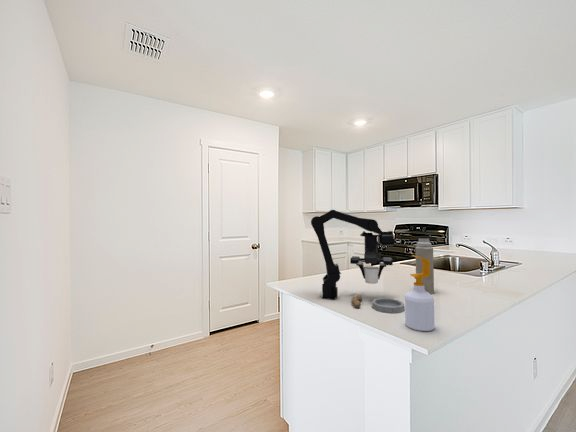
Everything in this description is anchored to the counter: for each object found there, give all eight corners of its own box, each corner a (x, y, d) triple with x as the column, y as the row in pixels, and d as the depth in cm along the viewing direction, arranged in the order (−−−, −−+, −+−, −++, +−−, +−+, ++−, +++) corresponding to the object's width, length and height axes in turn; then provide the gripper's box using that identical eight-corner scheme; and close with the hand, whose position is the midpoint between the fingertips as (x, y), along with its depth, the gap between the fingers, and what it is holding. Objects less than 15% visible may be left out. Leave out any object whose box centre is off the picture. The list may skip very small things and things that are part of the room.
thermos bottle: (417, 289, 141) (416, 235, 141) (434, 291, 137) (433, 235, 137) (415, 293, 134) (414, 236, 134) (433, 295, 130) (432, 236, 130)
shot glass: (380, 284, 124) (379, 268, 124) (364, 283, 125) (364, 268, 125) (378, 280, 130) (378, 266, 130) (363, 280, 132) (363, 265, 132)
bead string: (360, 309, 112) (360, 301, 112) (350, 308, 113) (350, 300, 113) (362, 300, 123) (362, 294, 123) (353, 300, 124) (352, 293, 124)
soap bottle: (400, 322, 98) (399, 253, 98) (424, 320, 98) (423, 253, 99) (414, 332, 89) (412, 257, 89) (440, 331, 90) (439, 256, 90)
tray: (371, 311, 109) (371, 305, 109) (372, 302, 121) (372, 297, 121) (405, 314, 105) (405, 308, 105) (402, 304, 117) (402, 299, 117)
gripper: (348, 247, 123) (349, 281, 123) (392, 248, 117) (393, 284, 117) (351, 244, 134) (351, 276, 134) (391, 245, 128) (392, 278, 127)
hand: (371, 278), depth 128 cm, fingers closed on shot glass, 6 cm apart
